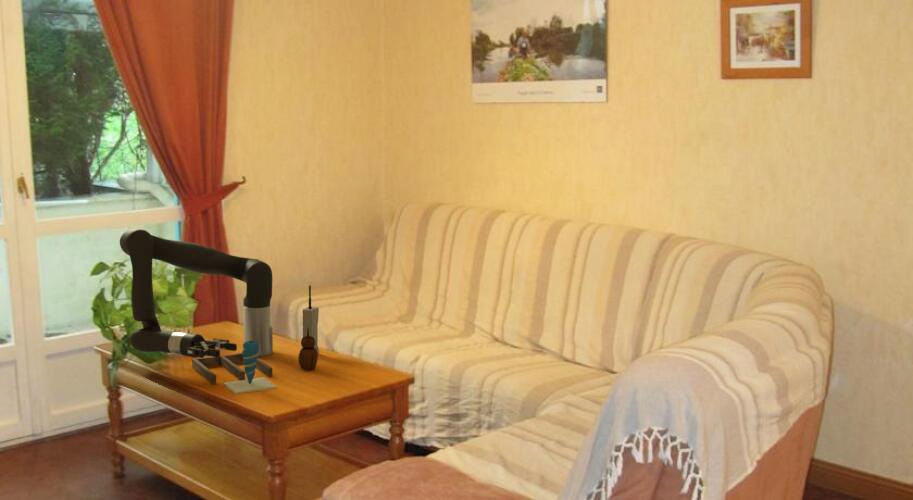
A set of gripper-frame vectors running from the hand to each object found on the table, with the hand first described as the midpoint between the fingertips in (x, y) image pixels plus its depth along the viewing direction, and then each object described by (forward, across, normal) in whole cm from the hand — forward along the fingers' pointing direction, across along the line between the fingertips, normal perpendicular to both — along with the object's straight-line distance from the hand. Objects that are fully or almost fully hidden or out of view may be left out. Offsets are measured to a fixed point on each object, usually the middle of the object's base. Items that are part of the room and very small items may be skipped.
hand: (227, 350), depth 310 cm
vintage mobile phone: (+5, +41, +11) cm, 43 cm away
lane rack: (-6, +10, +10) cm, 16 cm away
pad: (+8, 0, +10) cm, 13 cm away
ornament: (+8, +1, +10) cm, 13 cm away
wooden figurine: (+14, +25, +11) cm, 30 cm away
